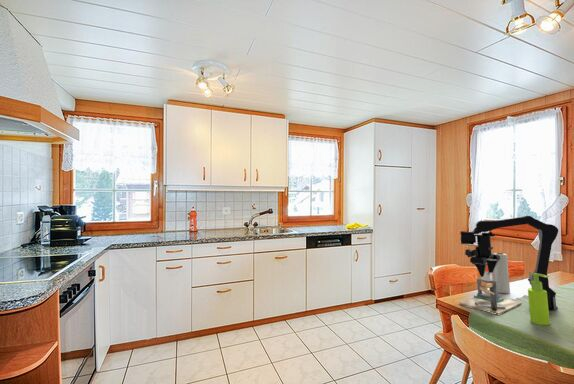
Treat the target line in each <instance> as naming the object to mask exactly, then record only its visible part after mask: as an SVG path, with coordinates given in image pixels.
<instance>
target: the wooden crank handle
mask: <svg viewBox="0 0 574 384" xmlns="http://www.w3.org/2000/svg"><path fill="white" fill-rule="evenodd" d="M480 290H481V291H482V293H486V294H487V295H489V296H490V300H491V310H494V311H497V301H496V294H494V284H492V283H485V284H481V286H480Z"/></svg>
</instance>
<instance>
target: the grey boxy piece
mask: <svg viewBox="0 0 574 384" xmlns="http://www.w3.org/2000/svg"><path fill="white" fill-rule="evenodd" d="M482 282H483V283H486V284H488V283H492V284H494V294H496V300H497V299H499V298H501V297H500V294H499V293H500V292H498V281H493V273H492V272H489V271H485V273H484V276H483V277H481V276H480V278H479V277H478V278H476V283H477V284H476V286H477V293H476V294H477V296H482V297H486V298H490V296H489V295H487V294H486V293H484V292H483V291H481V290H480V286H482Z"/></svg>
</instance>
